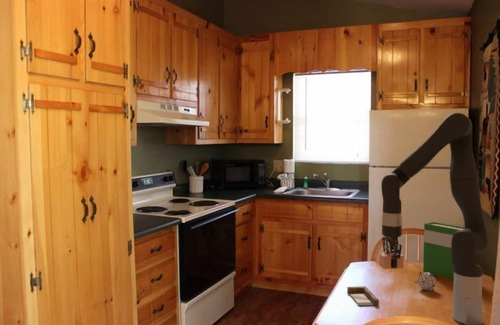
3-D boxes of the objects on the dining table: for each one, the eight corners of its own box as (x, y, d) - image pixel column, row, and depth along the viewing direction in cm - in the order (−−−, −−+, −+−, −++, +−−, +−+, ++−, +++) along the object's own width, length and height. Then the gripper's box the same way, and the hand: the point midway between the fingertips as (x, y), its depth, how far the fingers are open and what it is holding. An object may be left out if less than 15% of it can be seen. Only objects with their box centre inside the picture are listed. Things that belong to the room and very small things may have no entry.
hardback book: (466, 278, 200) (468, 227, 198) (458, 281, 195) (460, 230, 194) (431, 269, 214) (432, 221, 212) (423, 271, 210) (424, 223, 208)
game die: (430, 299, 184) (441, 286, 178) (411, 291, 186) (421, 277, 179) (431, 283, 191) (441, 270, 185) (412, 276, 192) (422, 262, 186)
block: (403, 268, 169) (403, 255, 168) (383, 268, 168) (383, 256, 168) (398, 265, 173) (399, 252, 173) (379, 265, 173) (379, 253, 173)
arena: (378, 305, 169) (378, 299, 168) (358, 306, 168) (358, 300, 168) (365, 291, 183) (365, 286, 183) (347, 292, 183) (347, 286, 183)
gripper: (409, 227, 163) (408, 271, 164) (393, 220, 177) (393, 260, 178) (389, 227, 162) (389, 271, 163) (375, 220, 177) (375, 261, 178)
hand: (391, 265), depth 171 cm, fingers closed on block, 4 cm apart
